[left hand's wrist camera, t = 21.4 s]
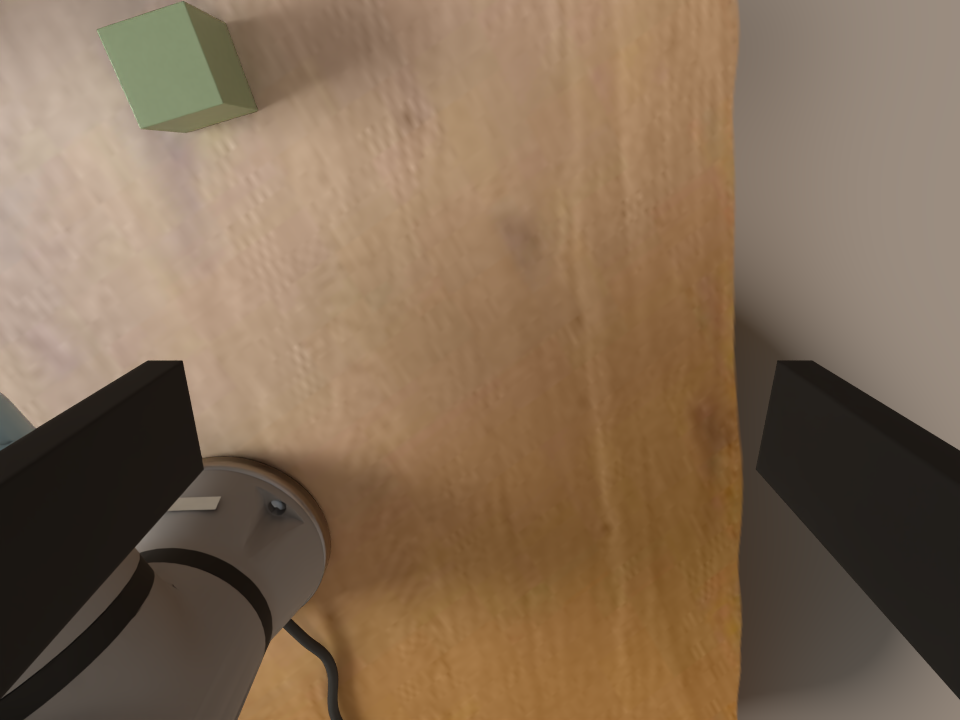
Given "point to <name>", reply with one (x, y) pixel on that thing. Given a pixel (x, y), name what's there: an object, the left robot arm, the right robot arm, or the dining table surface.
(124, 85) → the sage block
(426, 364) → the dining table surface
